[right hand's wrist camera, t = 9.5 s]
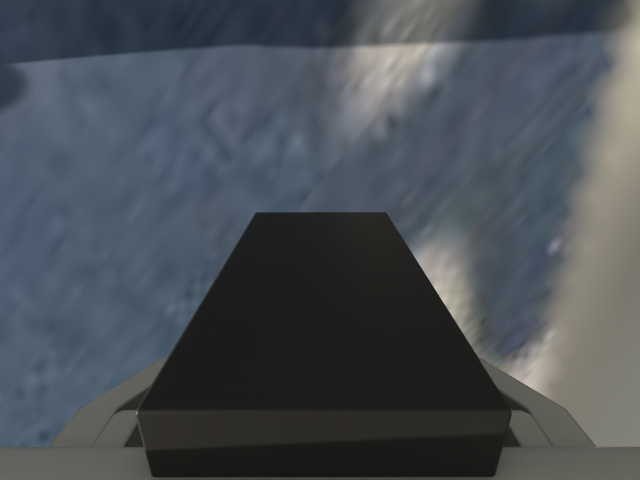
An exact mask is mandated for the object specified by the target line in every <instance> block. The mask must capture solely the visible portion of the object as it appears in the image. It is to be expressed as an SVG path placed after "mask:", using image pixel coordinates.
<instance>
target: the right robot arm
mask: <svg viewBox="0 0 640 480" xmlns="http://www.w3.org/2000/svg"><path fill="white" fill-rule="evenodd" d="M166 360H167V358H162V359H161V360H159V361H157V362H156V363H154V364H152V365H151V366H149V367H147V368H146V369H144V370H142V371H141V372H139V373H137V374H136V375H134V376H132V377H131V378H129V379H127V380H126V381H124V382H122V383H121V384H119V385H117V386H116V387H114V388H112V389H111V390H109V391H107V392H106V393H104V394H102V395H101V396H99V397H97V398H96V399H94V400H92V401H91V402H89V403H87V404H86V405H84V406H82V407H81V408H79V409H78V410H77V412H76V413H75V414H74V415H73V417H72V418H71V419H70V420H69V422H68V423H67V424H66V425H65V427H64V428H63V429H62V430H61V431H60V433H59V434H58V435H57V436H56V438H55V439H54V440H53V441H52V443H51V444H50V445H49V446H48V447H0V480H640V447H596V445H595V444H594V443H593V442H592V440H591V439H590V438H589V437H588V436H587V434H586V433H585V432H584V431H583V429H582V428H581V427H580V426H579V425H578V423H577V422H576V421H575V420H574V418H573V417H572V416H571V415H570V413H569V412H568V411H567V410H566V409H565V408H563V407H562V406H560V405H558V404H557V403H555V402H553V401H552V400H550V399H548V398H547V397H545V396H543V395H542V394H540V393H538V392H536V391H535V390H533V389H531V388H530V387H528V386H526V385H525V384H523V383H521V382H520V381H518V380H516V379H515V378H513V377H511V376H510V375H508V374H506V373H505V372H503V371H501V370H500V369H498V368H496V367H495V366H493V365H491V364H490V363H488V362H486V361H485V360H483V359H481V358H479V360H480V361H481V363H482V364H483V366H484V368H485V369H486V371H487V372H488V374H489V375H490V377H491V379H492V380H493V382H494V383H495V385H496V386H497V388H498V390H499V391H500V393H501V394H502V396H503V397H504V399H505V401H506V402H507V404H508V405H509V407H510V408H511V412H512V416H511V420H510V423H509V427H508V431H507V434H506V438H505V441H504V445H503V449H502V452H501V456H500V460H499V463H498V467H497V470H496V474H495V476H493V477H152V476H151V472H150V468H149V464H148V460H147V457H146V453H145V449H144V445H143V442H142V438H141V434H140V430H139V427H138V423H137V419H136V415H135V414H136V409H137V408H138V406H139V404H140V403H141V401H142V399H143V398H144V396H145V395H146V393H147V391H148V390H149V388H150V386H151V385H152V383H153V381H154V380H155V378H156V376H157V375H158V373H159V371H160V370H161V368H162V367H163V365H164V363H165V362H166Z"/></svg>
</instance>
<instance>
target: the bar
mask: <svg viewBox="0 0 640 480" xmlns="http://www.w3.org/2000/svg"><path fill="white" fill-rule="evenodd" d="M135 415H136V419H137V423H138V427H139V430H140V434H141V438H142V442H143V445H144V449H145V453H146V457H147V460H148V464H149V468H150V472H151V476H152V477H493V476H495V474H496V470H497V467H498V463H499V460H500V456H501V452H502V449H503V445H504V441H505V438H506V434H507V431H508V427H509V423H510V420H511V416H512V412H511V408H510V407H509V405H508V404H507V402H506V401H505V399H504V397H503V396H502V394H501V393H500V391H499V390H498V388H497V386H496V385H495V383H494V382H493V380H492V379H491V377H490V375H489V374H488V372H487V371H486V369H485V368H484V366H483V364H482V363H481V361H480V360H479V358H478V357H477V355H476V353H475V352H474V350H473V349H472V347H471V345H470V344H469V342H468V341H467V339H466V338H465V336H464V334H463V333H462V331H461V330H460V328H459V327H458V325H457V323H456V322H455V320H454V319H453V317H452V316H451V314H450V312H449V311H448V309H447V308H446V306H445V305H444V303H443V301H442V300H441V298H440V297H439V295H438V294H437V292H436V290H435V289H434V287H433V286H432V284H431V282H430V281H429V279H428V278H427V276H426V275H425V273H424V271H423V270H422V268H421V267H420V265H419V264H418V262H417V260H416V259H415V257H414V256H413V254H412V253H411V251H410V249H409V248H408V246H407V245H406V243H405V242H404V240H403V238H402V237H401V235H400V234H399V232H398V231H397V229H396V227H395V226H394V224H393V223H392V221H391V219H390V218H389V216H388V215H387V213H385V212H313V213H255V215H254V216H253V218H252V220H251V221H250V223H249V225H248V226H247V228H246V230H245V231H244V233H243V235H242V236H241V238H240V240H239V241H238V243H237V244H236V246H235V248H234V249H233V251H232V253H231V254H230V256H229V258H228V259H227V261H226V263H225V264H224V266H223V268H222V269H221V271H220V273H219V274H218V276H217V277H216V279H215V281H214V282H213V284H212V286H211V287H210V289H209V291H208V292H207V294H206V296H205V297H204V299H203V301H202V302H201V304H200V305H199V307H198V309H197V310H196V312H195V314H194V315H193V317H192V319H191V320H190V322H189V324H188V325H187V327H186V329H185V330H184V332H183V334H182V335H181V337H180V338H179V340H178V342H177V343H176V345H175V347H174V348H173V350H172V352H171V353H170V355H169V357H168V358H167V360H166V362H165V363H164V365H163V367H162V368H161V370H160V371H159V373H158V375H157V376H156V378H155V380H154V381H153V383H152V385H151V386H150V388H149V390H148V391H147V393H146V395H145V396H144V398H143V399H142V401H141V403H140V404H139V406H138V408H137V409H136V414H135Z"/></svg>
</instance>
